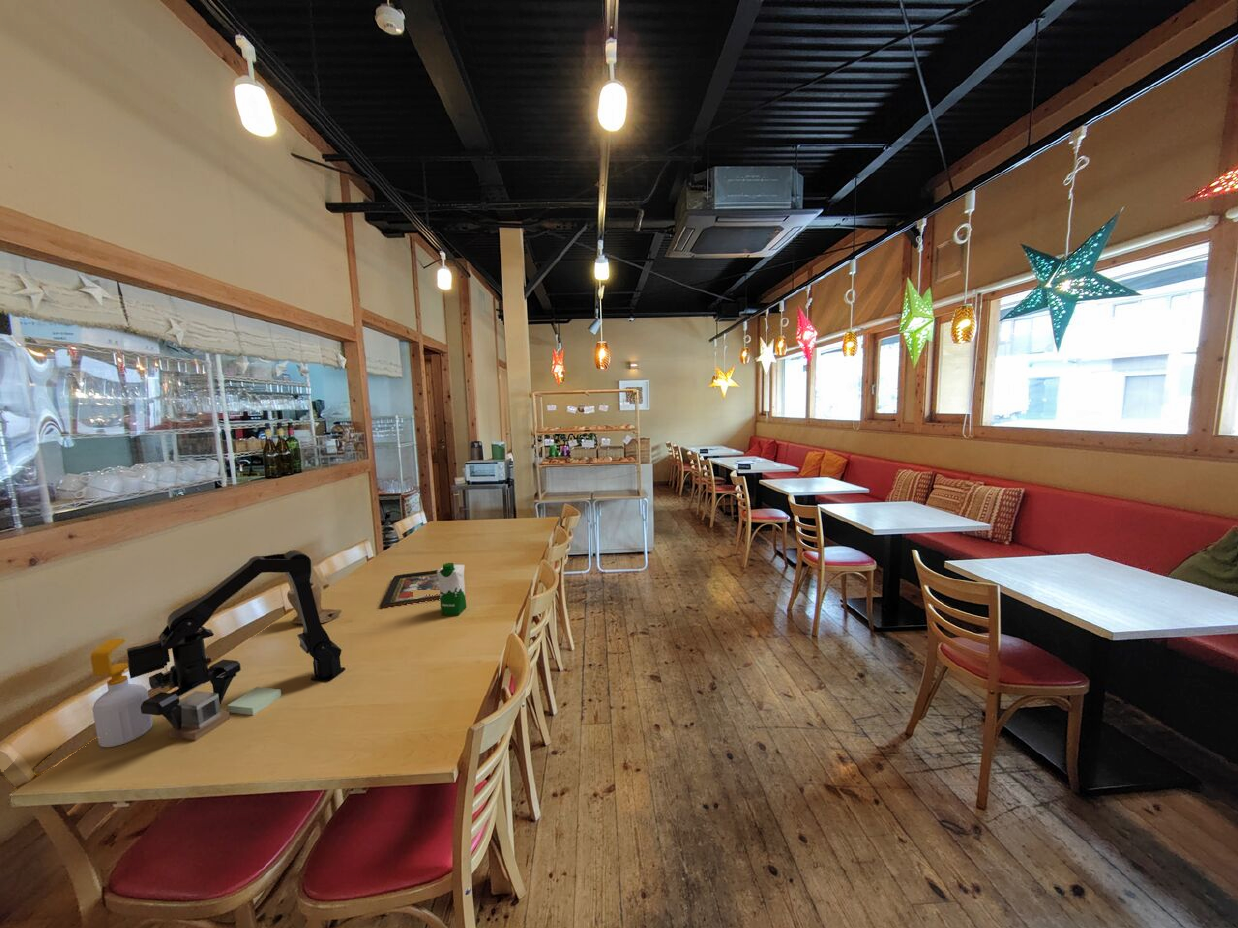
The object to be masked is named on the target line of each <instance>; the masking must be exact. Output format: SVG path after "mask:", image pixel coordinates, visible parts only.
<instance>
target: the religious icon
mask: <svg viewBox="0 0 1238 928" xmlns="http://www.w3.org/2000/svg"><path fill="white" fill-rule="evenodd" d="M438 570H439V569H436V570H427V571H421V572H420V571H419V572H410V573H402V574H397V575H394V576H393V578H392V580H391V581H390V584H389V586H388V587H387V590H386V592H385V595H384V597H383V599H382V601H381V603H380V609H382V610H383V608H384V609H389V608H388V607H391V608H395V607H394V606H398V607H402V606H401V605H405V606H408V605H407V604H411V605H414V604H413V603H418V604H420V603H419V602H425V601H432V600H438V601H440V600H439V599H440V594H439V595H438V594H436V595H434V596H433V595H432V596H430V594H429V596H427V595H426V596H424V597H423V596H421V597H418V599H413V592H411V590H440V589H439V579H438V574H437V571H438ZM432 602H433V601H432ZM425 603H426V602H425Z"/></svg>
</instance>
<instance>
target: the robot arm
mask: <svg viewBox="0 0 1238 928" xmlns="http://www.w3.org/2000/svg"><path fill="white" fill-rule="evenodd" d="M263 573H278V574H280V573H285V575H286V576H287V578H288V580H289V581H290V583H291V586H292V588H293V589H294V593H295V597H296V601H297V604H298V608H299V612H300V616H301V619H302V623H303V624H302V627H303V629H302V633H298V634H297V635H296V636H297V638H298V640H299V647H300V649H302V650H303V651H304V652H305V653H306V654H308V655H309V656H311V657H312V658H313V661H312V665H313V666H312V667H313V673H314V675H312V676H311V677H310V681H311V680H312V681H320V682H330V681H332V680H333V679H335V678H336V677H337V676H339V675H340V674H342V673H343V672H344V671H345V670H346V667H343V666H341V654H342V652H343V651H342V649H341V647H339V646H338V645H337V644H336V643H334V642H333V640H331V639H330V637H329V635H328V633H327V631H326V629H324V626H323V625H322V623H321V622H320V619H319V615H318V611H317V607H316V603H315V599H314V595H313V591H312V588H311V584H310V582H311V576H312V560H311V558H310V557H309V556H308V555H307V554H305V553H303V552H301V550H300V551H299V550H295V549H294V550H289V551H287V552H285V553H276V554H275V553H274V554H269V555H255V556H253V557H250V558H249V559H248V561H246V563H244V564H243V565H242V566H241V567H239V568H238V569H236V570H235V571H234V572H233V573H232V574H230V575H229V576H227V577H226V578H225V579H224V580H222V581H221V582H220V583H219V584H216V586H215V587H213V588H211V589H210V590H209V591H208V592H206V593H205V594H204V595H202V596H201V597H198V598H196V599H193V600H192V601H191V600H190V601H189V602H188V603H186V604H184V605H181V606H180V607H179V608H177V609H175V610H174V611H172V612H171V614H169V615H168V617H167V621H166V623H167V625H166V627H165V628H164V629H163V631H162V632H161V633H160V635H159V636H158V640H157V641H153V642H150V643H144V644H142V645H138V646H132V647H128V648H127V649H126V651H127V652H126V653H127V654H126V655H127V658H128V659H127V662H126V663H128V668H127V669H128V673H129V678H130V679H131V680H132V679H134V678H137V677H141V676H143V675H146V674H149V673H152V672H155V671H159V670H161V669H164V668H165V667H167V666H168V663H170V662H171V658H170V652H169V650H172V651H171V652H172V657H173V663H174V665H172V666H171V667H170V668H169V670H168V671H166V672H164V673H163V672H162V671H161V672H158V673H155V674H153V675H151V676H149V677H148V683H149V686H150V689H153V690H155V689H157V688H161V689H164V688H165V687H168V686H170V687H169V688H170V689H171V688H172V689H175V688H177V689H176V690H173V691H171V692H170V693H169V692H162V691H161V692H159V693H157V694H155V695H152V696H151V697H148V698H149V699H147V700H145V701H144V702H143V703H142V704H141V713H142V714H150V715H151V716H159V717H160V716H162V717H164V718H165V720H167V722H169V724H170V725H171V726H172V727H174V728H175V729H176V730H180V729H181V725H182V710H181V705H178V704H179V702H180V701H179V700H180V698H181V697H183V696H184V695H187V694H188V693H190V692H192V691H194V690H195V689H197V688H199V687H201V686H203V685H204V684H206V683H208V682H210V683H211V685H212V691H213V692H212V693H218V696H219V703H220V705H221V704H222V702H223V700H224V698H225V695H226V693H227V691H228V690H229V689H228V688H229V686H230V685H231V683H232V681H233V679H234V678H235V677H236V676H237V673H239V672H240V671H242V670H241V669H242V668H241V663H240V662H239V661H238V660H233V659H221V660H219V661H217V662H216V663H214V664H212V665H210V666H209V667H208V664H210V663H211V662H212V659H211V657H207V653H206V647H205V640H204V639H208V638H211V637H213V636H214V635H215V633H214V632H213V630H212V629H209V628H206V627H205V624H206V623H207V622H208V621H209V620H210V618H211V617H212V616H213V614H214V613H215V612H216V610H218V608H219V607H220V606H222V605H223V604H224V603H225V602H227V601H228V600H230V599H231V598H232V597H233V596H234V595H235V594H237V593H238V592H240V590H242V589H243V588H244V587H245V586H248V584H249V583H251V582H252V581H253V580H254V579H256V578H257V577H259V575H261V574H263Z"/></svg>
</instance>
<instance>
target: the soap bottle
mask: <svg viewBox="0 0 1238 928" xmlns="http://www.w3.org/2000/svg"><path fill="white" fill-rule="evenodd" d="M124 642H126V639H125V638H112V639H108V640H106V641H105V642H104V643H102V644H101V645H100V646H98V647H97V648H96V649H94V650H93V652H92V653H91V655H90V663H91V666H92V667H91V668H92V673H93V675H95V676H101V675H102V676H105V675H106V676H107V677H111V679H109V680H108V681H107V684H106V685H107V691H106V692H105V693H103V694H102V695H100V696H99V697H98V698H97V699H96V700H95V702H94V704H93V705H92V708H91V709H92V715H93V716H92V717H93V719H94V725H95V731H96V737H97V742H98V745H99V746H100V747H101V748H114V747H117V746H121V745H124V744H127V743H130V742H132V741H134V740H136V739H138V738H140V737H142V736H143V735H145V734H146V733H147V732H149V730H150V729H151V728H153V727H152V726H153V718H152V716H153V715H150V714H142V713H141V704H142V703H143V702H144V701H145V700H147V699H149V698H150V697H149V693H148V689H147V688H146V686H144V685H143V684H136V683H129V679H128V676H127V675H123V673H124V672H125V670H126V669H129V668H128V662H124V663H122V662H121V663H116V664H113V665H112V661H111V654H112V653H113V652H114V651H115V650H116V649H117V648H118V647H120V646H121V645H122V644H124ZM106 733H107V734H106ZM98 737H100V738H98Z"/></svg>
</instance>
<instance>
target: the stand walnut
mask: <svg viewBox="0 0 1238 928" xmlns="http://www.w3.org/2000/svg"><path fill="white" fill-rule="evenodd" d="M230 717H231V716H230V712H229V711H228V710H227V711H226V710H221V716H219V717H217V718H216V719H214V720H213V721H211V722H210V723H208V724H207V725H205V726H203V727H202V728H200V729H198V728H190V727H183V726H181V729H180V730H176V729H175V728H174V727H173V726H172V727H171V728H169V729H168V733H169V735H168V736H169V738H174V739H179V740H180V739H181V740H187V741H195V742H196V741H197V740H200V739H201V738H202V737H204V736H206V735H208V734H209V733H210V732H212V731H213V730H214V729H216V728H218V727H219V726H221V725H223V724H224V723H226V722H227V721H228V720H230Z"/></svg>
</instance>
